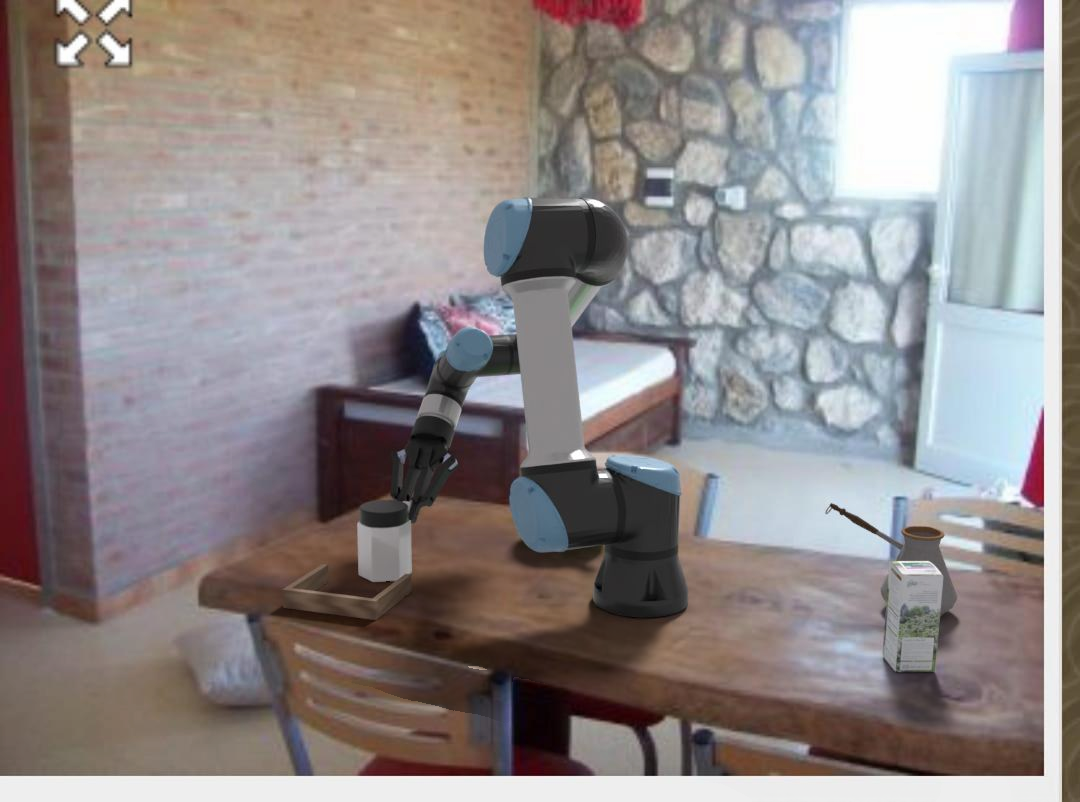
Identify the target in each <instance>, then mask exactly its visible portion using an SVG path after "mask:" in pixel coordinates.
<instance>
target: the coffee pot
mask: <svg viewBox="0 0 1080 802" xmlns="http://www.w3.org/2000/svg"><path fill="white" fill-rule="evenodd" d="M832 510H834V511H837V512H838V513H839V515H840V516H844V517H846V518H847V519H848V520H849V521H850V522H852V523H853V524H855V525H857V526H858V527H860V528H862V529H864V530H865V531H868V532H870V533H872V534H874V535H876V536H878V537H879V538H881V539H883V540H884V541H886V542H888V544H891V545H892V546H894V547H895V548H896V549H898V550H900V551H899V553H898V555H897V557H896V558H895V560H894V561H929V562H931V563H932V564H933V565H934V566H936V568H937V569H938V570H939V571H940V572H941V574H942V575H943V587H942V599H941V610H940V618H941V617H942V616H944V614H945V613H947V612H948V611H950V610H951V609H953V607H954V605H955V604H956V602H957V601H958V596H957V592H956V589H955V586H954V583H953V581H952V579H951V576H950V573H949V570H948V567H947V565H946V562H945V559H944V556H943V553H942V551H941V547H940V545H941V541H942V539H944V537H945V533H944V531H942V530H941V529H938V528H935V527H932V526H926V525H924V526H923V525H911V526H904V527H902V528H901V530H900V533H901V534H902V535H903V538H904V543H902V542H900V541H898V540H896V539H895V538H893V537H891V536H889V535H887V534H885V533H884V532H882V531H880V530H879V529H878V528H876V526H875V527H874V525H872V524H870V523H869V522H868V521H866V520H864V519H863V518H861V517H860V516H858V515H856V514H853V513H851V512H848V511H847V510H846V508H845V507H843V508H841V507H840V506H838V505H837V504H835V503H831V502H830V504H829V506H828V507H827V509H825V512H824V513H825V515H828V514H829V513H830V512H831V511H832ZM887 586H888V574H887V575H886V577H885V579H884V581H883V583H882V585H881V586H880V594H881V597H882V599H883V600H884V601H885V603H886V600H887Z"/></svg>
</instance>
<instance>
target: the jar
mask: <svg viewBox="0 0 1080 802" xmlns="http://www.w3.org/2000/svg"><path fill="white" fill-rule="evenodd" d="M408 516H409V510H408V505H407V504H406V503H404V502H401V501H396V500H393V499H379V500H372V501H367V502H364V503H361V505H360V506H359V521H358V522H357V525H356V529H357V561H358V562H357V564H358V567H357V569H358V576H360V578H361V577H362V578H364V579H366V580H367V581H370V582H372V583H383V582H384V583H386V581H390V582H395V581H396V580H398V579H399V578H400V577H402V576H403V575H404V574H412V573H413V572H412V571H413V567H412V565H413V564H412V563H413V562H412V560H413V559H412V557H413V556H412V523H411V520H409V519H408Z"/></svg>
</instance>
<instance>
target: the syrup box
mask: <svg viewBox="0 0 1080 802" xmlns="http://www.w3.org/2000/svg"><path fill="white" fill-rule="evenodd" d="M887 575H888V586H887V600H886V602H885V614H884V615H885V618H884V631H883V642H882V643H883V645H882V658H883V659H884V660H885V661H886V663H887V664H888V665H889V666H890V667H891V668H892V670H893V671H894V673H935V672H936V667H937V652H938V643H939V632H940V631H939V629H940V619H941V617H940V610H941V599H942V587H943V575H942V574H941V572H940V571H939V570H938V569H937V568H936V566H934V565H933V564H932V563H931V562H929V561H895V560H893V561H892V560H891V561H889V562H888V573H887Z"/></svg>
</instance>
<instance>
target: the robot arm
mask: <svg viewBox="0 0 1080 802" xmlns="http://www.w3.org/2000/svg"><path fill="white" fill-rule="evenodd" d="M486 223H487V224H486V226H485V227H486V228H485V231H484V239H483V257H484V258H483V261H484V265H485V266H486V270H487V272H488V273H489V274H490V275H492V276H493V277H495V278H500V286H501V291H502V292H503V293H504V294H505V295H507V296H508V297H510V298H511V300H512V305H513V306H512V308H513V313H514V314H513V317H514V325H515V333H510V334H509V333H508V334H494V335H493V334H491V335H489V334H488V333H487V332H486V331H484V330H482V329H479V328H477V327H474V326H467V327H463V328H461V329H460V330H458V331H456V332H455V334H454V336H453V337H452V338H451V339H450V340H449V342H448V343H447V345H446V349H443V350H441V351H440V352H439V354H438V356H437V358H436V359H435V362H434V364H433V366H432V372H431V375H430V377H429V381H428V384H427V387H426V391H425V394H424V396H423V398H422V402H421V405H420V407H419V410H418V412H417V415H416V419H415V421H414V425H413V427H412V430H411V433H410V439H409V441H408V443H407V444H406V445H405V446H404V449H401V450H400V451H396V450H392V451H390V458H391V459H392V466H391V467H392V468H391V480H390V491H389V492H390V497H391V500H396V501H401V502H404V503H406V504H407V505H408V510H409V516H408V519H409V520H411V524H416V522H417V520H418V517H419V514H420V510H421V509H422V508H423V507H432V506H433V505H434V502H435V501H436V500H437V497H438V496H439V494H440V492H441V491H442V489H443V487H444V486H445V484H446V482H447V481H448V479H449V477H450V476H451V474H452V473H453V472H454V471H455V470H456V469H457V468H459V463H458V461H457V459H456V457H455V456H454V455H451V454H450V447H451V445H452V442H453V439H454V436H455V431H456V429H457V425H458V423H459V419H460V416H461V413H462V409H463V406H464V403H465V401H466V398H467V394H468V392H469V390H470V389H471V386H472V385H474V382H475V381H476V379H478V378H481V377H482V378H485V377H498V376H499V377H500V376H510V375H513V376H514V375H515V376H516V375H520V381H521V392H522V401H523V402H522V403H523V408H524V411H523V412H524V419H525V428H526V429H525V430H526V437H527V447H528V455H527V456H526V458H525V459H524V460H523V462H522V463H521V464H520V475H521V476H518V477H517V478H515V479H514V480H513V481H512V483H511V485H510V489H509V490H510V494H509V498H508V499H509V507H510V513H511V517H512V520H513V524H514V526H515V527H514V528H515V529H516V531H517V533H518V535H519V537H520V538H521V540H522V541H523V543H524V544H525V545H526V546H527V547H528V548H529V549H531V550H532V551H534V552H536V553H553V552H557V553H564V552H566V551H569V550H578V549H583V548H584V549H586V548H591V547H597V546H598V547H600V546H604V554H603V557H602V560H601V563H600V566H599V569H598V572H597V574H596V578H595V579H594V583H593V587H592V601H593V604H594V605H595V606H597V607H598V608H599V609H601V610H603V611H605V612H608V613H611V614H614V615H619V616H623V617H628V618H629V617H632V618H659V617H661V618H662V617H667V616H670V615H674V614H678V613H680V612H681V611H683V610H684V609H686V608H687V607H688V605H689V588H688V587H689V586H688V585H687V580H686V577H685V573H684V571H683V567H682V565H681V561H680V557H679V545H680V543H679V539H680V538H679V537H680V510H681V509H680V508H681V503H680V502H681V496H682V490H681V489H682V488H681V477H680V471H679V470H678V469H677V468H676V466H674V465H673V464H672V463H670V462H667V461H663V460H660V459H656V458H651V457H648V456H639V455H631V454H613V455H611V456H608V457H607V458H606V461H605V462H604V466H605V468H601V469H598V466H597V458H596V457H595V455H593V454H592V453H590V451H588V450H587V449H586V447H585V440H584V439H585V438H584V430H583V429H584V428H583V421H582V411H581V401H580V393H579V382H578V374H577V365H576V355H575V346H574V340H573V339H574V337H573V326H574V325H575V324H576V322H578V320H579V319H580V317H581V315H582V314H583V313H584V311H585V310H586V308H587V307H588V306H589V304H590V303H591V302H592V300H593V299H594V298H595V296H596V295H597V294H598V293H599V291H600V290H601V288H602V287H606V286H608V285H610V284H612V283H613V281H615V279H616V278H617V276H618V275H619V273H620V272H621V271H622V269H623V267H624V265H625V263H626V260H627V256H628V251H629V239H628V238H629V237H628V233H627V229H626V227H625V225H624V223H623V221H622V218H621V217H620V216H619V215H618V214H617V213H616V211H615V210H614V209H613V208H612V207H610V206H608V205H607V204H606V203H604V202H603V201H602V202H601V201H600V200H597V199H594V198H589V197H588V198H587V197H578V198H571V197H570V198H569V197H566V198H561V197H560V198H559V197H554V198H553V197H529V196H525V197H522V198H515V199H514V198H513V199H504V200H502V201H500V202H498V203H497V205H495V206H494V208H493V210H492V211H491V213H490V216H489V218H488V221H487V222H486ZM406 458H407V461H408V464H407V465H408V468H407V471H406V474H405V478H404V464H405V463H406V462H405V461H406ZM438 467H439V468H438ZM437 468H438V469H437ZM436 469H437V472H436V473H435V471H436ZM403 478H404V480H403Z"/></svg>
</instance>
